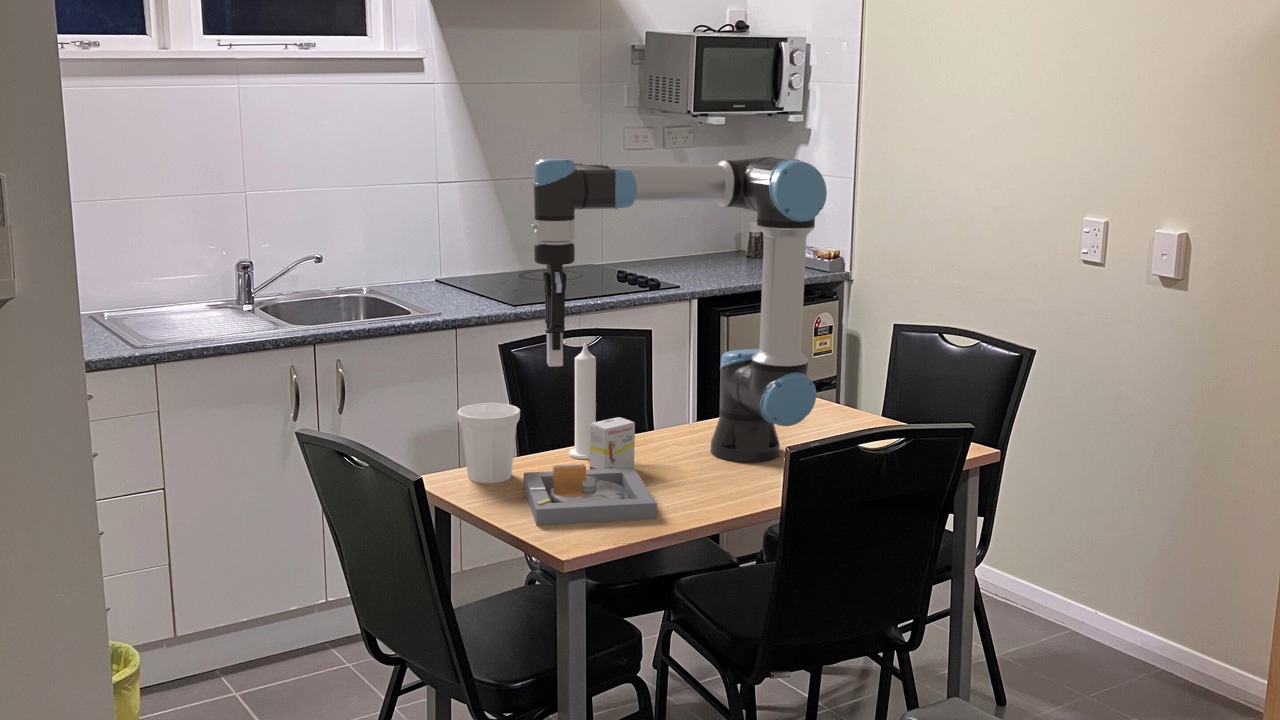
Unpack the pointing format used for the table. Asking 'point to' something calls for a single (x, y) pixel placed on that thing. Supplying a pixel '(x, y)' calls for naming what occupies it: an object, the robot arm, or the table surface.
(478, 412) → the cup
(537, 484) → the housing
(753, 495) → the table surface
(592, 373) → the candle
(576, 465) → the dial
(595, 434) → the ink box
